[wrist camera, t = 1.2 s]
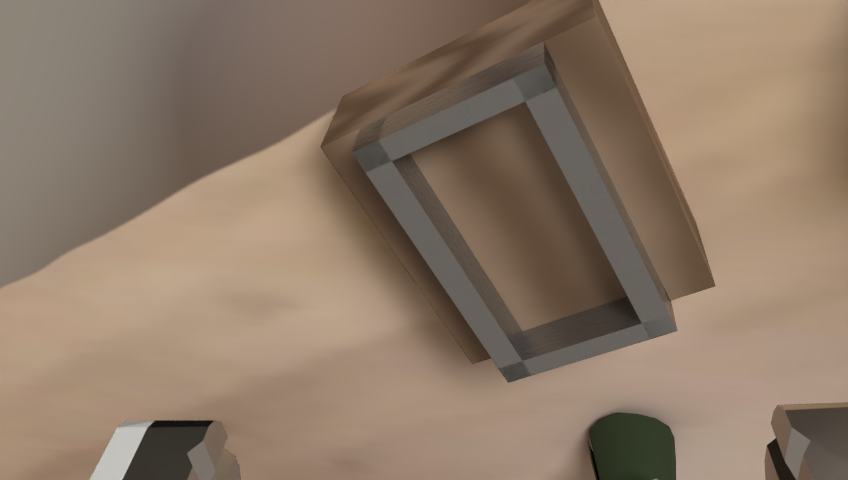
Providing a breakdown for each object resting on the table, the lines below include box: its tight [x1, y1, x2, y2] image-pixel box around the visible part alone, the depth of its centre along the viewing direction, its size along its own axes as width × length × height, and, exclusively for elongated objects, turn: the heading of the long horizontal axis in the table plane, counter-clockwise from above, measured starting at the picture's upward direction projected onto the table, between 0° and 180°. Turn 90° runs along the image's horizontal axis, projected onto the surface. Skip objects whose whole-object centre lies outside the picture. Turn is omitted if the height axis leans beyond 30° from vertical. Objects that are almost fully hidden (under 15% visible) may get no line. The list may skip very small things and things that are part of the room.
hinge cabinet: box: [321, 0, 715, 382], centre depth 43 cm, size 15×17×8 cm
